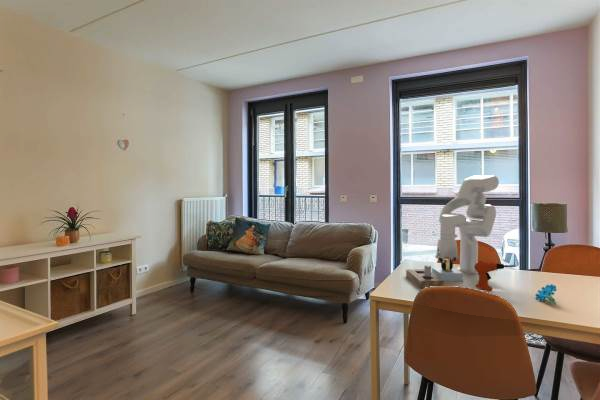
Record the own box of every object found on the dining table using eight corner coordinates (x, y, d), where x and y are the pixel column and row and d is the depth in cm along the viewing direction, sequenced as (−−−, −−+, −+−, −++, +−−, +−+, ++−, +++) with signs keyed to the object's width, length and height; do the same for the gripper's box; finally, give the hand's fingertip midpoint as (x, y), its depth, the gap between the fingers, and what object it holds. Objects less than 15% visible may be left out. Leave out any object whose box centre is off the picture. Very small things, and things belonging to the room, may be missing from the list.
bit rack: (427, 277, 196) (427, 269, 196) (443, 290, 174) (444, 280, 174) (406, 278, 196) (406, 269, 195) (420, 290, 174) (420, 281, 173)
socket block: (452, 275, 199) (452, 267, 199) (462, 282, 187) (462, 273, 187) (431, 276, 199) (432, 267, 199) (440, 282, 187) (440, 273, 187)
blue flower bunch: (531, 292, 165) (550, 280, 161) (541, 301, 165) (560, 289, 161) (537, 303, 156) (557, 290, 151) (547, 312, 155) (568, 300, 151)
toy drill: (519, 291, 166) (515, 261, 166) (475, 291, 175) (472, 262, 175) (517, 288, 171) (514, 259, 171) (475, 288, 179) (472, 260, 179)
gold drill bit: (448, 276, 195) (448, 259, 194) (450, 278, 191) (451, 260, 191) (442, 276, 195) (443, 259, 194) (445, 278, 191) (445, 260, 191)
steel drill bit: (429, 284, 181) (429, 265, 181) (431, 285, 178) (432, 266, 178) (423, 284, 181) (423, 265, 181) (425, 285, 178) (425, 267, 178)
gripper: (458, 235, 195) (458, 267, 197) (430, 236, 195) (429, 267, 196) (465, 238, 188) (464, 271, 189) (435, 238, 188) (435, 271, 189)
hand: (446, 269), depth 193 cm, fingers closed on gold drill bit, 3 cm apart
